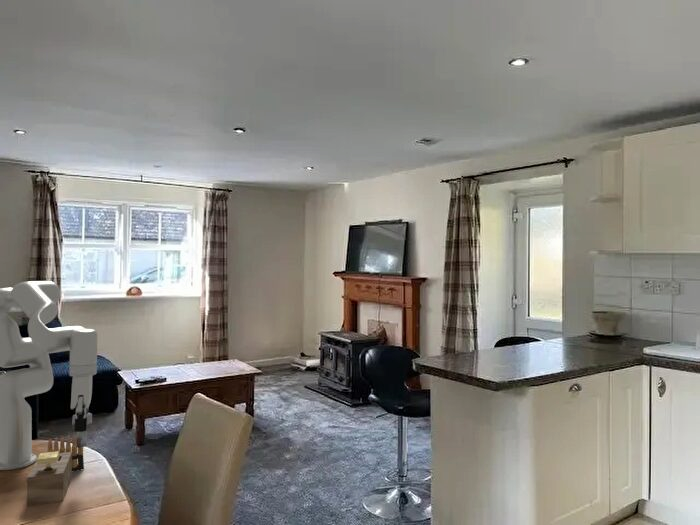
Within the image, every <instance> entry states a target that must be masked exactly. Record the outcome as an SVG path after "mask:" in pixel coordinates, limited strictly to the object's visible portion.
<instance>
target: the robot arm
mask: <svg viewBox="0 0 700 525" xmlns="http://www.w3.org/2000/svg"><path fill="white" fill-rule="evenodd" d="M60 299H61V290H60V288H59V286H58V284H57V283H55V282H53V281H51V280H31V281H30V280H29V281H22V282H18V283H17V284H15V285H14V286H13V287H0V368H3V369H4V368H5V369H6V368H15V367H20V366H26V365H27V366H29V367H28V368H20V369H15V370H14V369H13V370H9V371H6V372H4V373H2V374H0V471H10V470H11V471H12V470H18V469H21V468H25V467H28V466H31V465H32V464H35V463H36V461H37V458H38V456H37V455H36V454H34V453H32V448H33V447H32V430H33V427H32V426H33V424H32V420H33V418H32V412H33V411H32V407H31V405H30V404H29V403H28V402H27V401H26V400H25V398H27V397H30V396H31V397H32V396H34V395H38V394H39V395H40V394H43V393H46V392H48V391H50V390H51V389H52V387H53V385H54V374H53V368H52V363H51V359H50V358H51V357H50V354H54V353H61V352H68V351H69V367H68V368H69V370H68V371H69V377H72V380H71V382H72V383H71V394H70V396H71V397H70V398H71V399H70V410H74V409H75V414H76V418H75V426H74V433H77V432H81V431H86V430H87V431H88V425H87V417H86V413H90V412H89V409H90V408H89V407H90V404H91V400H92V395H93V376H95V375H96V374H97V373H98V331H97V330H96V329H92V328H86V327H83V326H82V325H81V326H80V325H70V326H58V327H53V328H52V327H51V328H48V327H47V326H46V325H47V324H49V323H50V322H52V321H53V320H54V319H55V318H56V316H57V315H58V311H59V309H58V306H57V303H58V302H59V300H60ZM15 312H16V313H17V312H23V313H24V314H25V315H26V317H28V318H29V320H28V323H27V334H28V337H22V335H21V333H20V328H19V325H18V323H17V321H15V319H13V318H12V316H10V315H8V314H7V313H15Z"/></svg>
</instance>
